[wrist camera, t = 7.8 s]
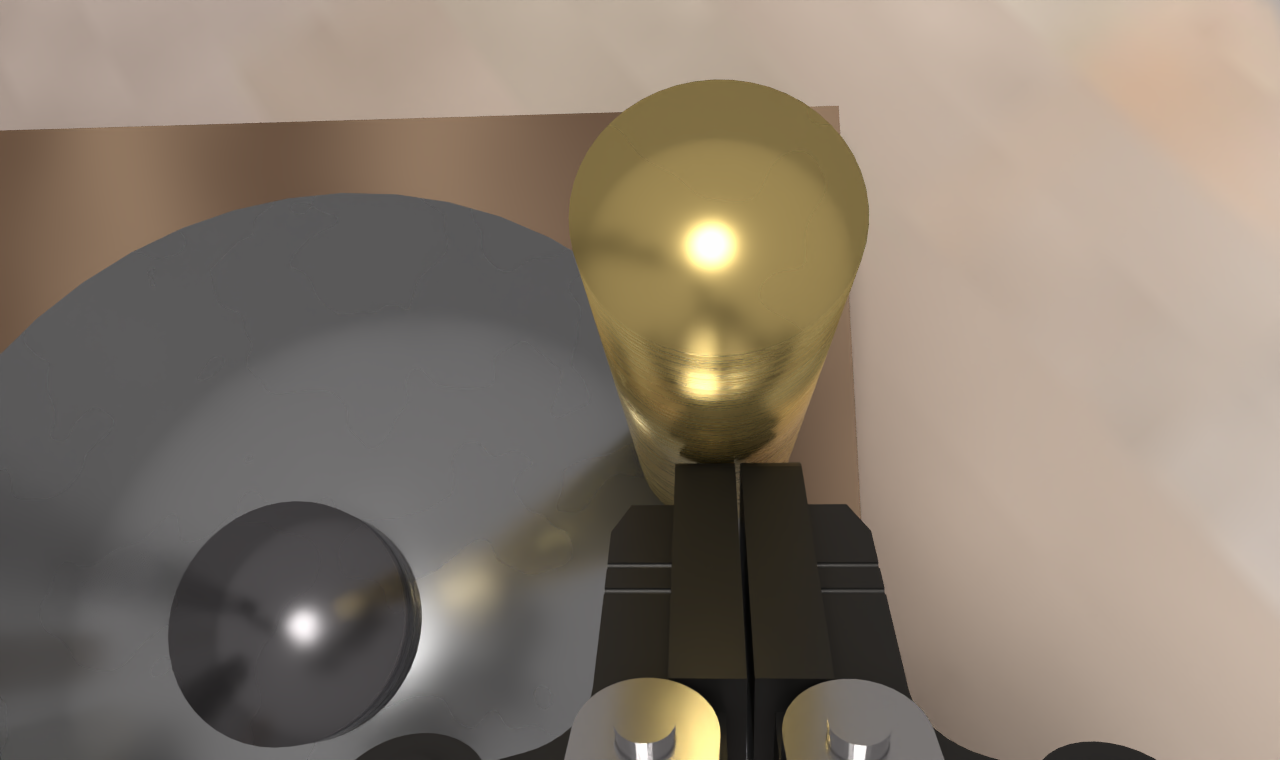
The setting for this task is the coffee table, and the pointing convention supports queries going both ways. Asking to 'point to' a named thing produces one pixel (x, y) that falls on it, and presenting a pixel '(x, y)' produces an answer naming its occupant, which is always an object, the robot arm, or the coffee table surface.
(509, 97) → the coffee table surface
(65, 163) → the turntable
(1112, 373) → the coffee table surface
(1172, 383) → the coffee table surface
